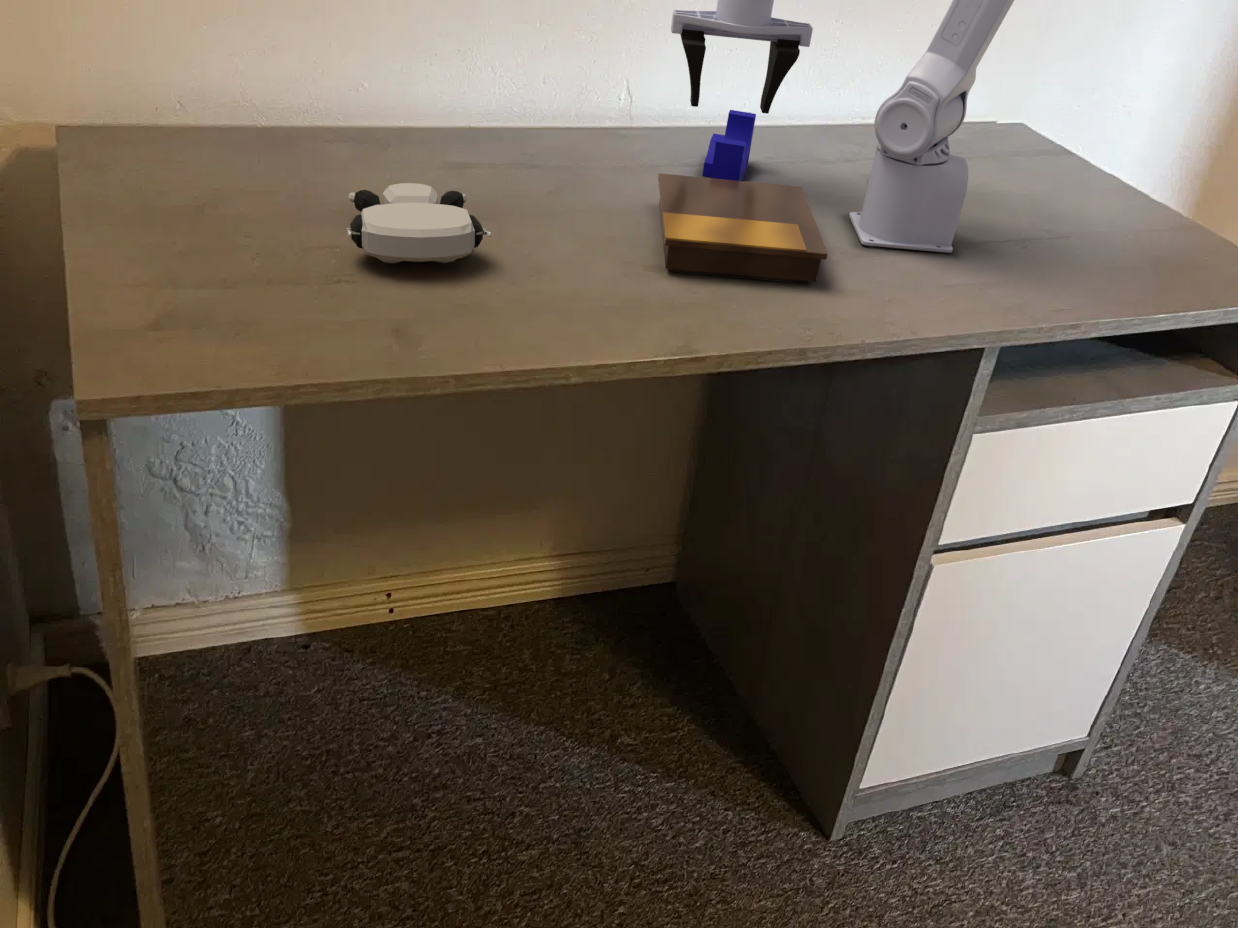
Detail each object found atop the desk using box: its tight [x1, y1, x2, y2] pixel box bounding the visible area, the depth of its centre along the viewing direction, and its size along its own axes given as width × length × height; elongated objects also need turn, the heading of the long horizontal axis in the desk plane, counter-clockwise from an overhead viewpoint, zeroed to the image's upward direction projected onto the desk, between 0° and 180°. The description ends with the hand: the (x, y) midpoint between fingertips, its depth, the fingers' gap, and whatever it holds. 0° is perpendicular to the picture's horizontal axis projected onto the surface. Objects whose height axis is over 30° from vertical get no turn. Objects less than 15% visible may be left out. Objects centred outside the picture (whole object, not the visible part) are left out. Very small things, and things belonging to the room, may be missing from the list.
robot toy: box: [346, 182, 492, 264], centre depth 105 cm, size 12×4×15 cm
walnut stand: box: [657, 173, 829, 285], centre depth 112 cm, size 15×17×4 cm
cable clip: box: [702, 109, 757, 181], centre depth 127 cm, size 12×4×6 cm, turn 168°
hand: (729, 107), depth 124 cm, fingers open, 7 cm apart
